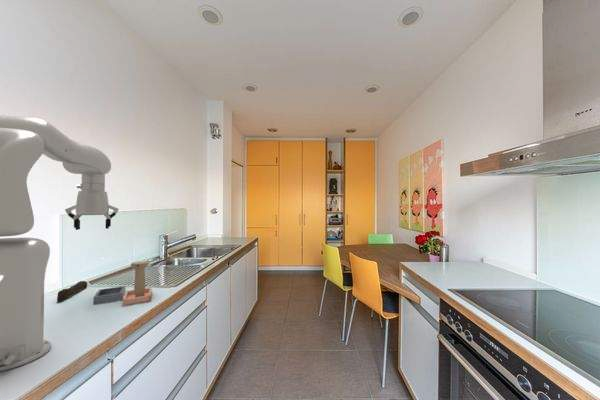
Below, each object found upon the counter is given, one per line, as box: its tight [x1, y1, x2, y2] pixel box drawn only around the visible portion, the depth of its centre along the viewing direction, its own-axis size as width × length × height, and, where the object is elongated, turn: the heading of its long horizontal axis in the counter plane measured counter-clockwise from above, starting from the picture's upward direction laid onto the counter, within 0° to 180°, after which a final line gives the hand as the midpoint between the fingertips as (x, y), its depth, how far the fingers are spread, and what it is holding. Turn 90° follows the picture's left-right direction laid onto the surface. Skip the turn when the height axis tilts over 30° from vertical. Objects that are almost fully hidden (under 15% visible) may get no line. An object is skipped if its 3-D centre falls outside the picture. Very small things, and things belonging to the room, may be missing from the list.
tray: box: [121, 287, 153, 307], centre depth 105 cm, size 12×10×2 cm
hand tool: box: [56, 280, 88, 304], centre depth 110 cm, size 19×4×5 cm, turn 15°
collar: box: [92, 285, 126, 306], centre depth 106 cm, size 10×10×3 cm
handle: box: [130, 260, 150, 297], centre depth 105 cm, size 5×6×15 cm
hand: (92, 228), depth 103 cm, fingers open, 9 cm apart
